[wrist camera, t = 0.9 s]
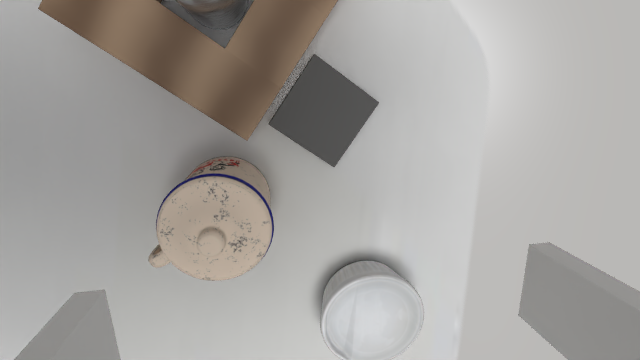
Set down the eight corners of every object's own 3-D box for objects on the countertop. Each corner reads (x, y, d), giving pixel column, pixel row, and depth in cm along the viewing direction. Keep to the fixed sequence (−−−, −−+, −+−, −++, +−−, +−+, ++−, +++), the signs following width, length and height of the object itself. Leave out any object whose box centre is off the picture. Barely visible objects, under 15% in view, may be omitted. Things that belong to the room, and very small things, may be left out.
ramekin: (297, 282, 39) (302, 310, 34) (381, 234, 39) (398, 255, 34) (341, 348, 43) (351, 383, 38) (419, 304, 43) (439, 333, 38)
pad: (268, 123, 34) (268, 124, 34) (313, 54, 33) (314, 53, 32) (333, 166, 36) (334, 167, 36) (377, 102, 35) (379, 102, 35)
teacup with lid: (238, 136, 34) (224, 159, 23) (289, 206, 37) (298, 258, 26) (138, 202, 34) (77, 256, 23) (196, 267, 37) (166, 344, 26)
